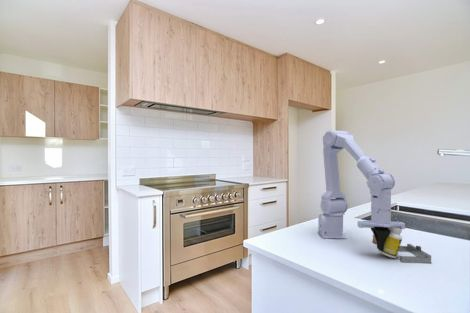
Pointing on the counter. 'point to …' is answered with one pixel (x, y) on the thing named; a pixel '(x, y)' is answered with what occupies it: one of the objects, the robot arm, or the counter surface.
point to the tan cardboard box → (374, 240)
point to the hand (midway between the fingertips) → (380, 249)
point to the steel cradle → (419, 254)
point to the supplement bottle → (392, 242)
